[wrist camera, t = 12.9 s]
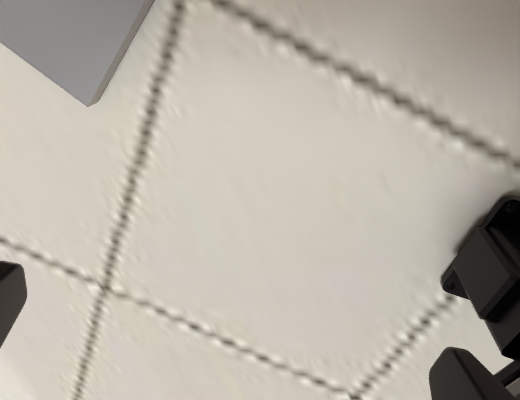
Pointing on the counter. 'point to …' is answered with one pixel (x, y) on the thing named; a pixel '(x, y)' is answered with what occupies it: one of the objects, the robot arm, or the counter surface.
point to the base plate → (72, 39)
